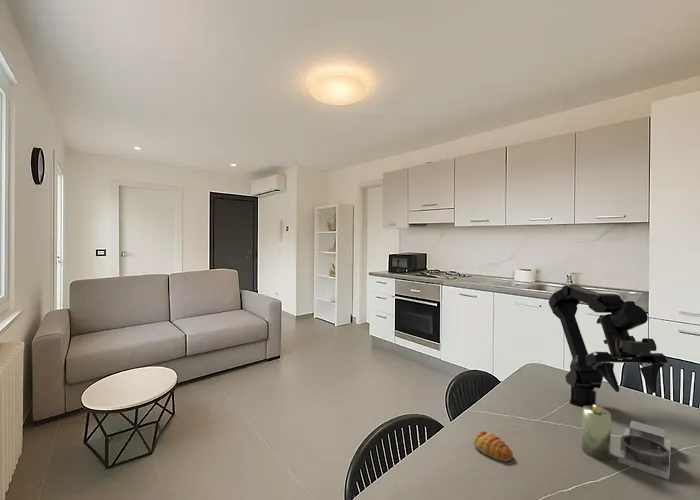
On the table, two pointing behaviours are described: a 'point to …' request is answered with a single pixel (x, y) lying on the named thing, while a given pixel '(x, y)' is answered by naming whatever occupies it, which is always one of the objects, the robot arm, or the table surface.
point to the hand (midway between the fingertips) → (635, 392)
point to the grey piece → (646, 449)
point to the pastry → (492, 446)
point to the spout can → (596, 431)
